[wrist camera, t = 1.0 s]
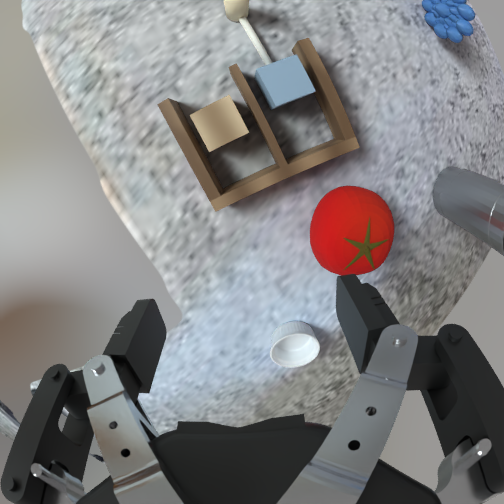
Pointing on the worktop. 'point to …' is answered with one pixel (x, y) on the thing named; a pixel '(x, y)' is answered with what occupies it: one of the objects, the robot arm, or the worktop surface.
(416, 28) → the worktop surface
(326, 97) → the lane rack
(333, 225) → the tomato
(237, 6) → the tethered block
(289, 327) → the ramekin
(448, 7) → the grapes
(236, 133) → the plain oak block
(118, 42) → the worktop surface
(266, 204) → the worktop surface
